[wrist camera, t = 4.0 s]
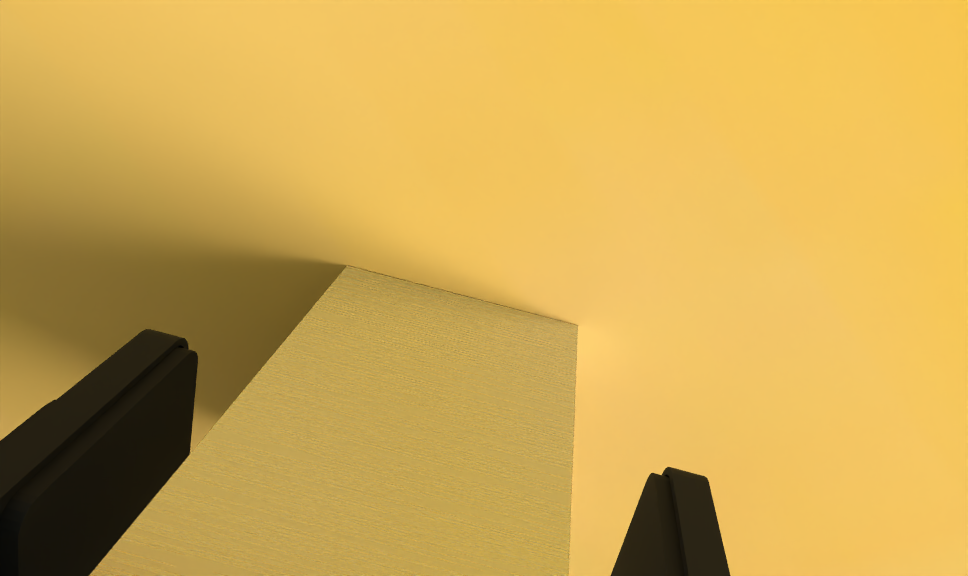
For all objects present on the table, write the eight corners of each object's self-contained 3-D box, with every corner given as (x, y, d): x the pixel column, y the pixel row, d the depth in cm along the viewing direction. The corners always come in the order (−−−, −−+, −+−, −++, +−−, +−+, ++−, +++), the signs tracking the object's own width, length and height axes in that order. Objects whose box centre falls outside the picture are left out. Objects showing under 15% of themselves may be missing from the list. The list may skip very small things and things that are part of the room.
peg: (578, 325, 13) (554, 944, 5) (520, 512, 15) (428, 1224, 6) (346, 266, 13) (-72, 765, 5) (315, 457, 15) (-41, 1082, 6)
